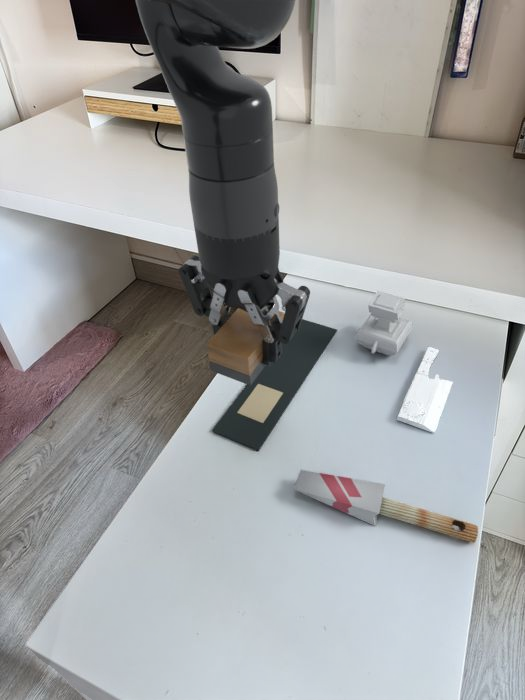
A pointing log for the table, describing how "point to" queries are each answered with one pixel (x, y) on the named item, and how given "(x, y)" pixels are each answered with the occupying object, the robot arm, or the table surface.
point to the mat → (274, 388)
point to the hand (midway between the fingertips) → (248, 352)
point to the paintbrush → (375, 503)
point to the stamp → (384, 325)
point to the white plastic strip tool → (425, 396)
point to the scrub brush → (237, 348)
